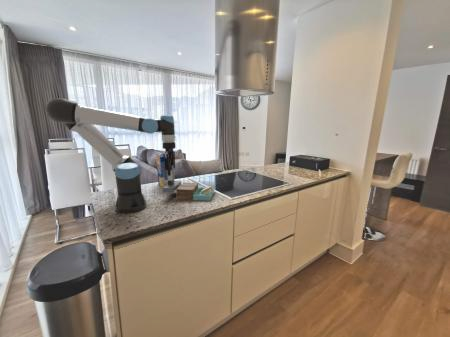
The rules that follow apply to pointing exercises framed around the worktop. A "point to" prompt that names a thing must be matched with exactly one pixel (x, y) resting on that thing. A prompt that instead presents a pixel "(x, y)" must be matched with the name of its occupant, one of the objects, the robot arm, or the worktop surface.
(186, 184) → the brown wooden box
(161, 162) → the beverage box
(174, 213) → the worktop surface
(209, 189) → the tile
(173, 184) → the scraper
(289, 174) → the worktop surface
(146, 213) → the worktop surface
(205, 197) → the tray
